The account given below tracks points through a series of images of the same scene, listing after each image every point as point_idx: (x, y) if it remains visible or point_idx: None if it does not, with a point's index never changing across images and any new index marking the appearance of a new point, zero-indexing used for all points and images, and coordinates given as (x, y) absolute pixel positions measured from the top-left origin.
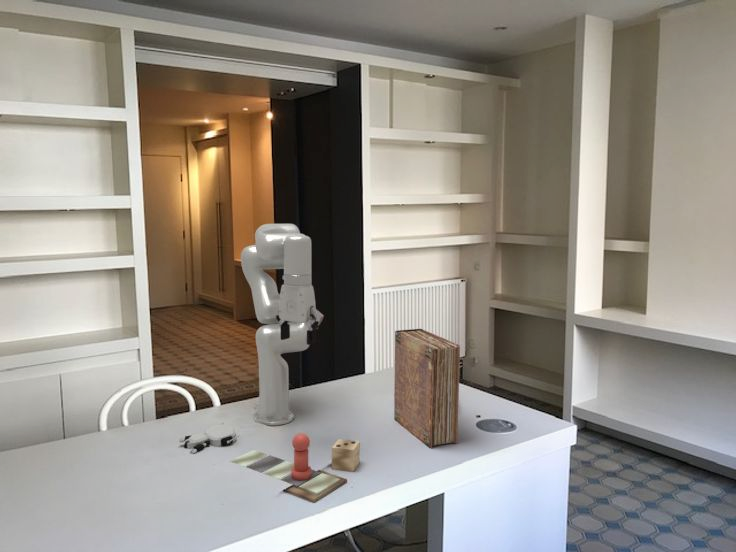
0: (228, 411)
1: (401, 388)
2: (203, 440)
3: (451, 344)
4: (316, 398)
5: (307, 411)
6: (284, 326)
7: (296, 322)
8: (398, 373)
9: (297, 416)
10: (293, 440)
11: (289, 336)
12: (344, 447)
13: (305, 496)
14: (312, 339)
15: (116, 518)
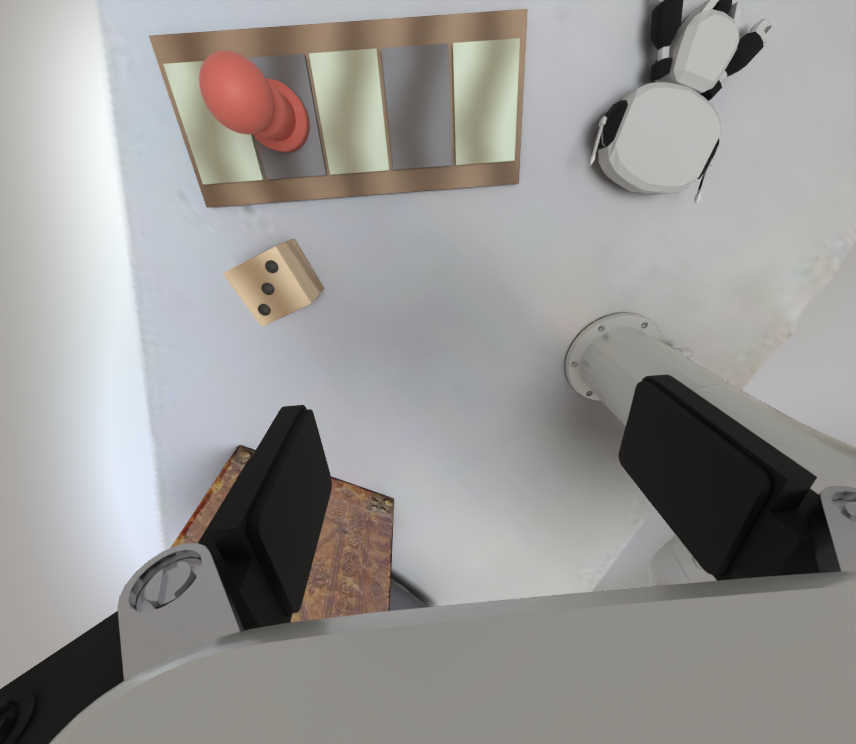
0: (750, 319)
1: (355, 559)
2: (678, 52)
3: None
4: (597, 485)
5: (570, 430)
6: (746, 507)
7: (412, 611)
8: (368, 598)
9: (572, 399)
10: (237, 54)
11: (627, 466)
12: (253, 270)
13: (181, 34)
14: (245, 466)
15: None
